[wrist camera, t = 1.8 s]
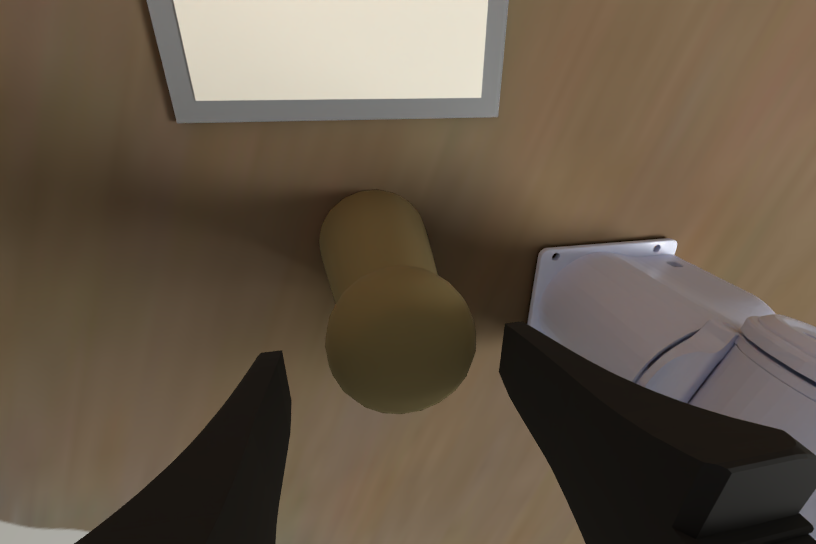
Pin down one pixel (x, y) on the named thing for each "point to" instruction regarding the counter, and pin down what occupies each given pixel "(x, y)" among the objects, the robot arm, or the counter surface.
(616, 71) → the counter surface
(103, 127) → the counter surface
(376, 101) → the notepad
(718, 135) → the counter surface
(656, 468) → the robot arm
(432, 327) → the cork
